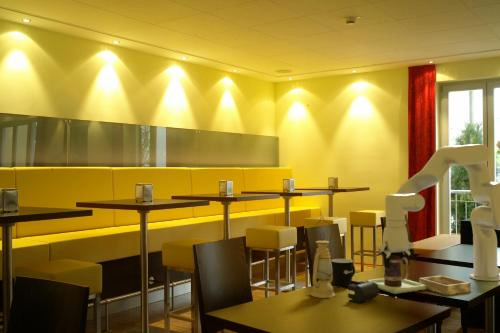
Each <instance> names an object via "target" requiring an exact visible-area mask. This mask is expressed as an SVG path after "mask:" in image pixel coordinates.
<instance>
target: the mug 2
mask: <svg viewBox="0 0 500 333" xmlns="http://www.w3.org/2000/svg"><path fill="white" fill-rule="evenodd" d="M388 258H390V268H387V267H384V273H383V278H384V284H385V285H386V286H390V287H399V286H401V285H402V281H401V280H402V279H408V277H409V265H408V260H407V258H406V257H403V256H402V257H400V256H399V255H390V256H389V257H388ZM403 260H404V261H405V263H406V265H404V266H405V267H404V268H405V276H404V277H402V276H403V275H402V269H401V268H402V267H401V262H402V263H403Z"/></svg>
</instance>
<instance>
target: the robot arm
mask: <svg viewBox="0 0 500 333" xmlns="http://www.w3.org/2000/svg"><path fill="white" fill-rule="evenodd" d="M490 158H491V151H490V149H489V147H488V146H487V145H484V144H482V143H476V144H475V143H473V144H462V145H445V146H441V147H439V148H438V149H436V151H435V152H434V153H433V155H432V156H431V157H430V159H429V160H428V161H427V163H425V165H424V166H423V168H422V169H421V170H420V171H419V172H417V173H416V174H414V175H412V177H410V178H409V179H407V180H406V181H405V182H403V184H402V185H401V186H400V187H399V189H398V190H397V191H396V193H388V194H387V195H385V199H384V202H385V227H384V229H383V235H382V244H380V245H379V246H378V247H377V249H378V252H379V254H380V255H381V257H382V258H383V267H384V268H385V267H387V268H390V258H388V257H389V256H391V254H392V253H393V254H394V253H395V254H396V253H402V254H403V255H402V258H403V257H406V258H407V260H408V266H410V256H411V254H412V253H413V249H414V246H415V244H414V243H413V242H411V241H409V235H408V229H407V227H406V225H407V221H406V217H405V216H406V214H405V213H406V212H407V211H408V212H419V211H421V210H422V209H423V208H424V207H425V204H426V202H425V201H426V200H425V198H424V197H423V195H421V194H420V193H419V192H421V191H423V190H425V189H427V188H430V187H433V186H435V185H437V184H439V183H440V181H441V180H442V179H443V177H444V176H445V175H446V173H447V172H448V171H449V169H450V168H451V167H458V166H460V167H463V168H464V169H465V170H466V172H467V176H468V181H469V188H470V196H471V199H472V200H473V202H475V203H477V204H485V205H479V206H476V207H474V208H473V209H472V210H471V212H470V216H469V218H470V224H471V228H472V235H473V236H472V242H473V243H472V246H473V249H472V250H473V251H472V253H473V256H472V257H473V259H472V261H473V273H470V274H469V277H470V279H473V280H477V281H483V282H484V281H486V282H497V281H500V268H499V267H498V238H497V233H496V231H495V230H497V231H500V182H499V181H492V180H491V175H490V169H489V167H488V164H487V162H488V161H489V160H490ZM486 204H487V205H490V206H486ZM402 264H403V265H404V266H405V265H406V263H405V261H404V260H402Z"/></svg>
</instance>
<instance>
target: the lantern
mask: <svg viewBox="0 0 500 333" xmlns="http://www.w3.org/2000/svg"><path fill="white" fill-rule="evenodd" d="M321 220H323V221H324V222H325V223H328V224H329V225H330V228H331V229H330V231H331V232H330V239H329V240H330V241H328V240H325V239H324V238H322V237H321V236H322V235H323V236H325V235H324V233H323V232H321V234H319V236H320V237H319V238H320V240H317V241H316V239H315V237H313V240H314V241H313V242H315V244H317V247H318V248H316V249H314V250H313V254H314V256H313V260H314V261H313V268H312V269H313V270H312V282H311V285H312V292H311V293H310V295H311V296H312V297H315V298H318V299H332V298H333V297H335V296H336V293H335V292H334V287H333V286H332V282H333V274H332V273H333V269H332V264H331V261H332V259H331V256H332V255H331V254H332V249H331V246H329V248H328V244H330V242H331V240H332V235H333V232H332V230H333V229H332V228H333V227H332V225H331V223H329V222H328V221H326V220H325V219H324V217H323V216H322V217H320V220H319V221H318V222H317V223H316V224H315V225H314V228H313V229H314V230H313V234H315V232H316V229H315V228H316V226H317V225H319V223H320V222H321ZM329 250H330V251H329ZM317 279H318V281H317Z"/></svg>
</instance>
